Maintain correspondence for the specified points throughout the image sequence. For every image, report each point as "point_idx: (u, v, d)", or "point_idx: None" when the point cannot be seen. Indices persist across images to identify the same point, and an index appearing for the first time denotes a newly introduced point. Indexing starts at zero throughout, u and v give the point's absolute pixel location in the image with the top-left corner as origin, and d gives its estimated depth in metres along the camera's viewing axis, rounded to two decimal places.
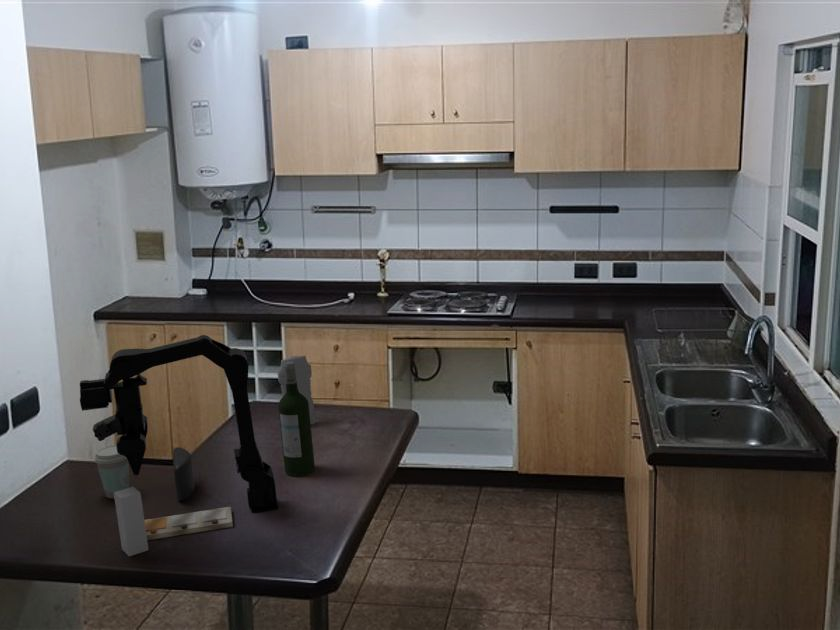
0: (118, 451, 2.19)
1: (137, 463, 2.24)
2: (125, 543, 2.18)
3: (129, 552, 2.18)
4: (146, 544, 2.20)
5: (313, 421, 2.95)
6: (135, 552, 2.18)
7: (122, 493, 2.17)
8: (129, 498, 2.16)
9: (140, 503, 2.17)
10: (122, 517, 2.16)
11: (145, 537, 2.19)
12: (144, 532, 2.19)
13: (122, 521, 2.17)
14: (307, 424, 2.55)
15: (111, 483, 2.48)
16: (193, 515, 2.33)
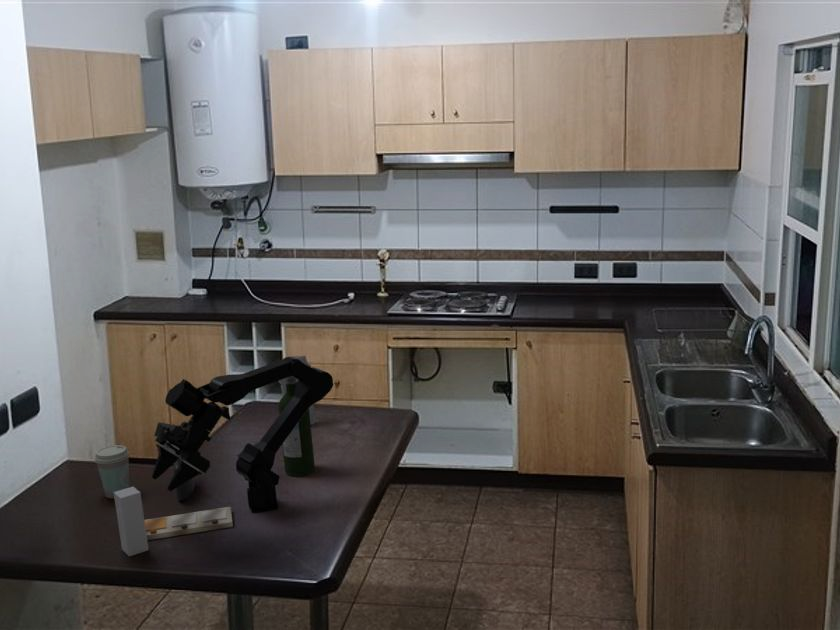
0: (187, 459, 2.15)
1: (181, 480, 2.19)
2: (125, 543, 2.18)
3: (129, 552, 2.18)
4: (146, 544, 2.20)
5: (313, 421, 2.95)
6: (135, 552, 2.18)
7: (122, 493, 2.17)
8: (129, 498, 2.16)
9: (140, 503, 2.17)
10: (122, 517, 2.16)
11: (145, 537, 2.19)
12: (144, 532, 2.19)
13: (122, 521, 2.17)
14: (307, 424, 2.55)
15: (111, 483, 2.48)
16: (193, 515, 2.33)
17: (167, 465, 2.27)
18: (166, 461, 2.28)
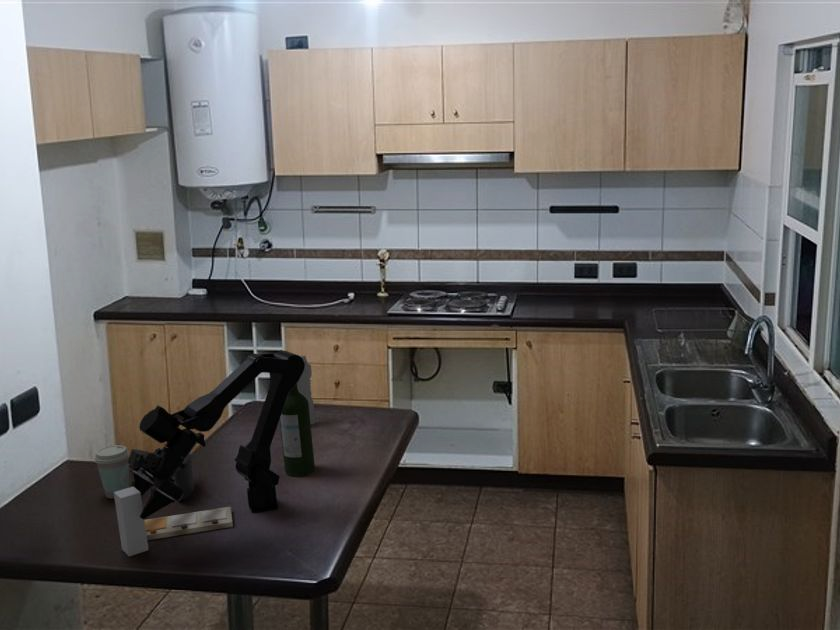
0: (160, 488, 2.12)
1: (153, 509, 2.16)
2: (125, 543, 2.18)
3: (129, 552, 2.18)
4: (146, 544, 2.20)
5: (313, 421, 2.95)
6: (135, 552, 2.18)
7: (122, 493, 2.17)
8: (129, 498, 2.16)
9: (140, 503, 2.17)
10: (122, 517, 2.16)
11: (145, 537, 2.19)
12: (144, 532, 2.19)
13: (122, 521, 2.17)
14: (307, 424, 2.55)
15: (111, 483, 2.48)
16: (193, 515, 2.33)
17: (140, 491, 2.24)
18: (140, 488, 2.25)
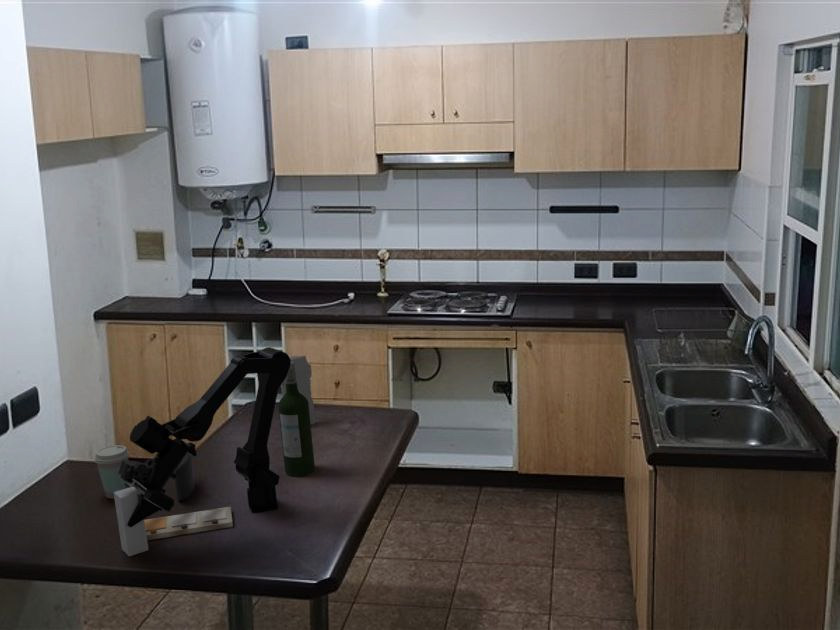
0: (151, 499, 2.11)
1: (141, 516, 2.17)
2: (125, 543, 2.18)
3: (129, 552, 2.18)
4: (146, 544, 2.20)
5: (313, 421, 2.95)
6: (135, 552, 2.18)
7: (122, 493, 2.17)
8: (129, 498, 2.16)
9: None
10: (122, 517, 2.16)
11: (145, 537, 2.19)
12: (144, 532, 2.19)
13: (122, 521, 2.17)
14: (307, 424, 2.55)
15: (111, 483, 2.48)
16: (193, 515, 2.33)
17: None
18: None
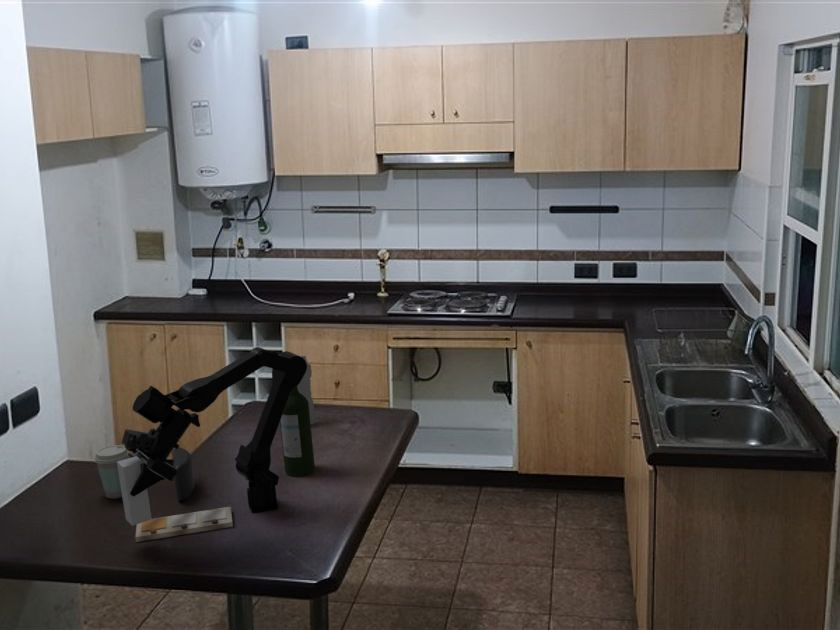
0: (152, 468, 2.12)
1: (144, 486, 2.17)
2: (128, 512, 2.19)
3: (132, 521, 2.18)
4: (149, 514, 2.20)
5: (313, 421, 2.95)
6: (138, 521, 2.19)
7: (125, 462, 2.18)
8: (132, 467, 2.16)
9: None
10: (125, 486, 2.17)
11: (148, 507, 2.20)
12: (147, 502, 2.20)
13: (125, 490, 2.17)
14: (307, 424, 2.55)
15: (111, 483, 2.48)
16: (193, 515, 2.33)
17: None
18: None
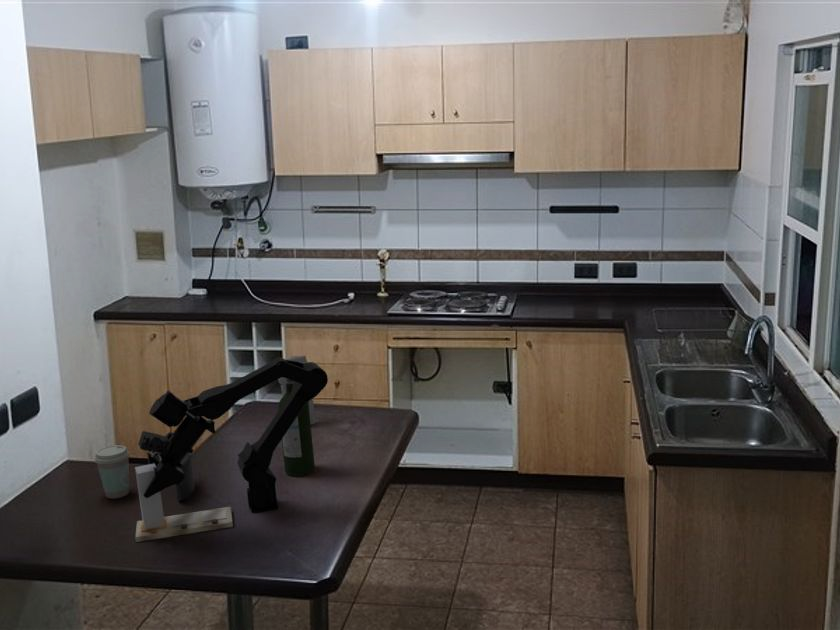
0: (160, 471, 2.19)
1: (156, 489, 2.24)
2: (143, 517, 2.27)
3: (145, 526, 2.27)
4: (162, 520, 2.28)
5: (313, 421, 2.95)
6: (151, 526, 2.27)
7: (141, 469, 2.26)
8: (146, 474, 2.24)
9: None
10: (139, 492, 2.25)
11: (162, 513, 2.28)
12: (161, 508, 2.27)
13: (140, 496, 2.26)
14: (307, 424, 2.55)
15: (111, 483, 2.48)
16: (193, 515, 2.33)
17: None
18: None
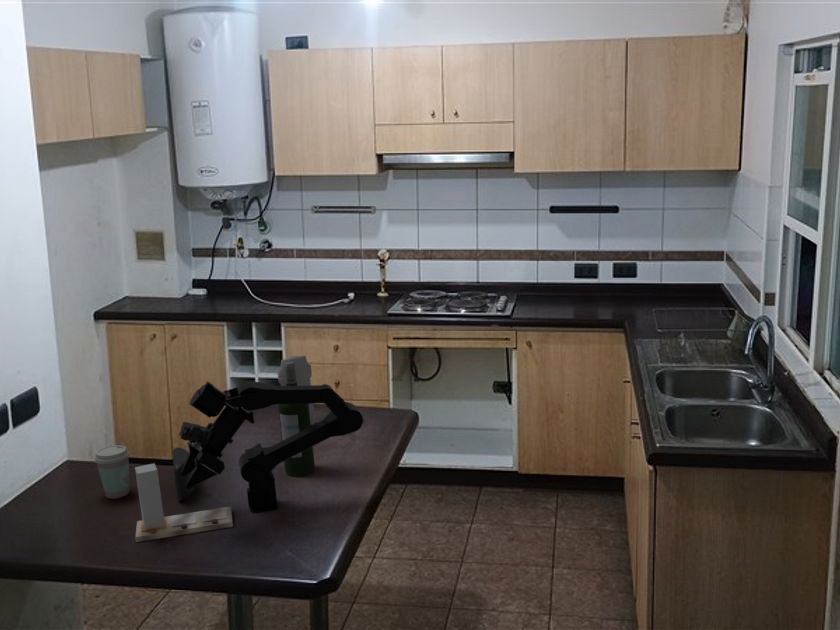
0: (200, 460, 2.22)
1: (198, 480, 2.26)
2: (143, 517, 2.27)
3: (145, 526, 2.27)
4: (162, 520, 2.28)
5: (313, 421, 2.95)
6: (151, 526, 2.27)
7: (141, 469, 2.26)
8: (146, 474, 2.24)
9: (157, 480, 2.26)
10: (139, 492, 2.25)
11: (161, 513, 2.28)
12: (161, 508, 2.27)
13: (140, 496, 2.26)
14: (307, 424, 2.55)
15: (111, 484, 2.48)
16: (193, 515, 2.33)
17: (196, 463, 2.36)
18: None
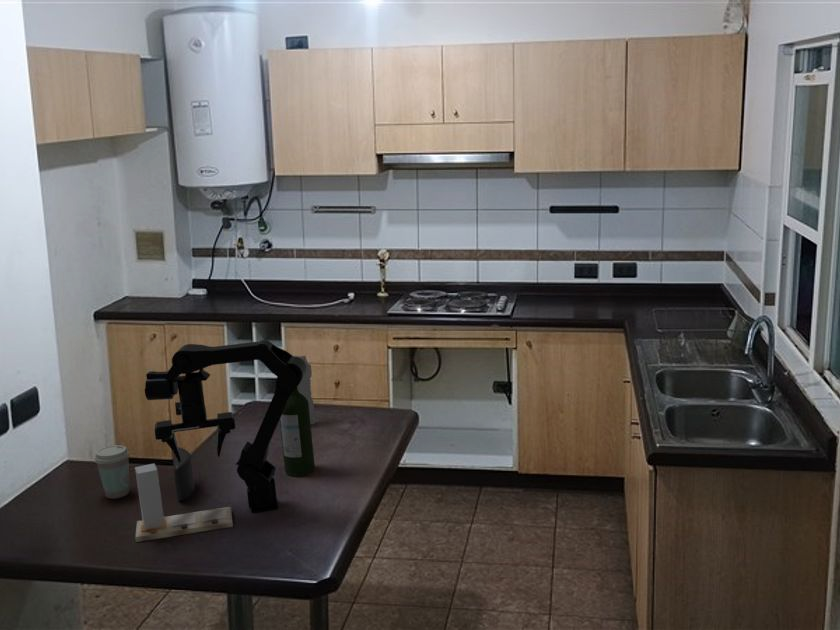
0: None
1: None
2: (143, 517, 2.27)
3: (145, 526, 2.27)
4: (162, 520, 2.28)
5: (313, 421, 2.95)
6: (151, 526, 2.27)
7: (141, 469, 2.26)
8: (146, 474, 2.24)
9: (157, 480, 2.26)
10: (139, 492, 2.25)
11: (161, 513, 2.28)
12: (161, 508, 2.27)
13: (140, 496, 2.26)
14: (307, 424, 2.55)
15: (111, 483, 2.48)
16: (193, 515, 2.33)
17: (217, 441, 2.36)
18: (218, 438, 2.36)
